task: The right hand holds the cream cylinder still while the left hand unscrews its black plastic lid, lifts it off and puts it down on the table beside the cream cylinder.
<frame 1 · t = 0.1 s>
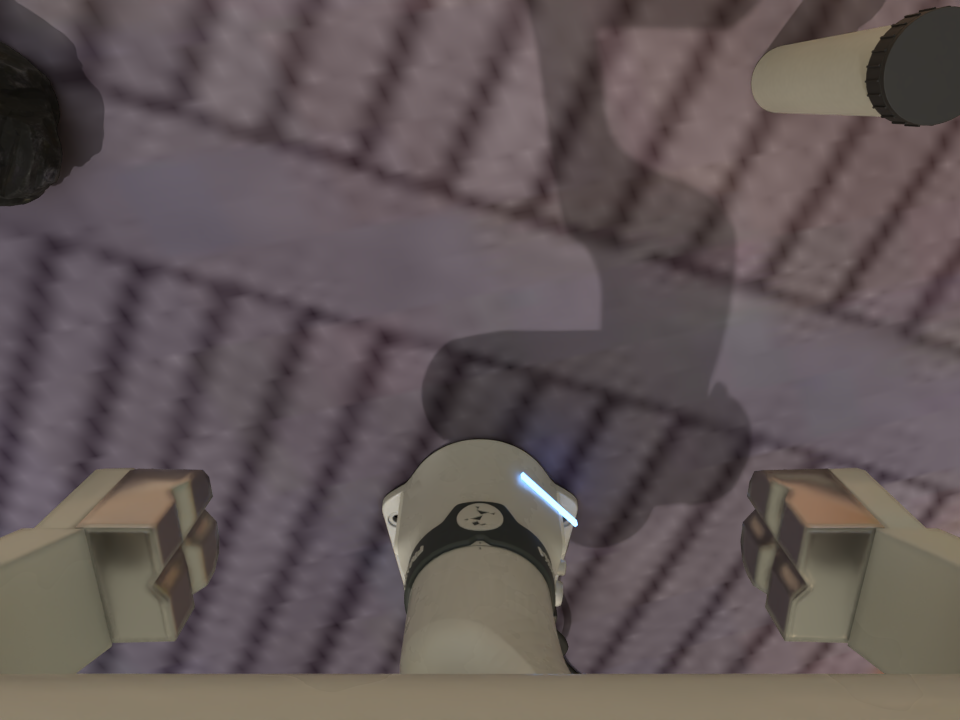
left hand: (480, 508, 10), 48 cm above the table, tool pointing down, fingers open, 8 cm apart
cream cylinder: (782, 79, 53), on the table
lid: (935, 67, 35), point 19 cm above the table, screwed on, not yet turned
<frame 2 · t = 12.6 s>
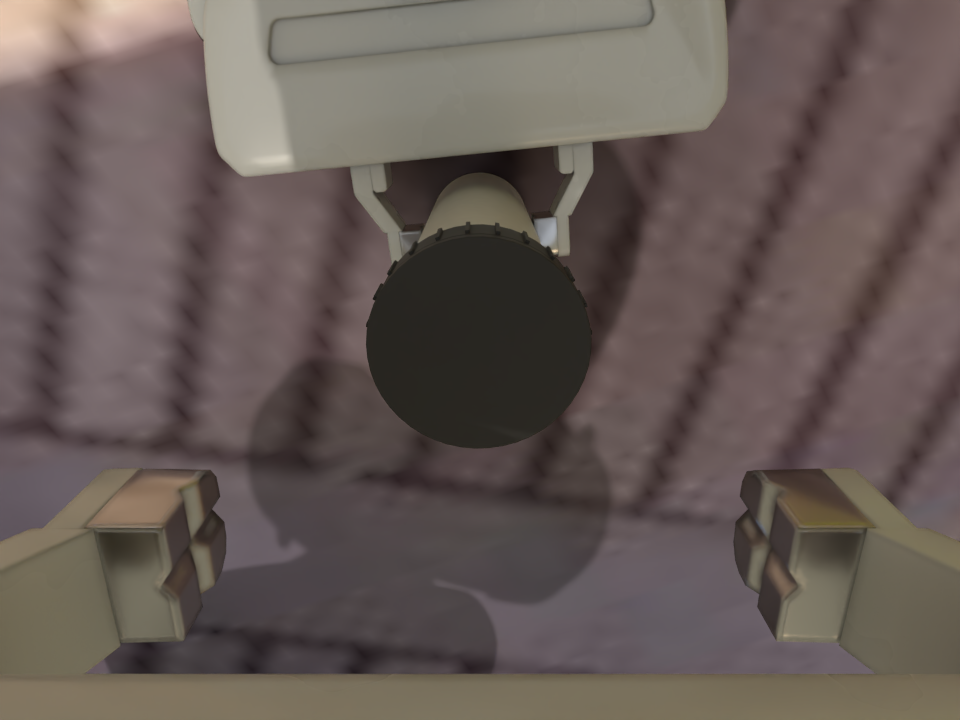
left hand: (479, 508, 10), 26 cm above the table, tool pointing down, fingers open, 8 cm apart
right hand: (482, 261, 30), fingers closed on cream cylinder, 5 cm apart
cream cylinder: (479, 221, 35), on the table, touching right hand
lid: (478, 344, 17), point 19 cm above the table, screwed on, not yet turned
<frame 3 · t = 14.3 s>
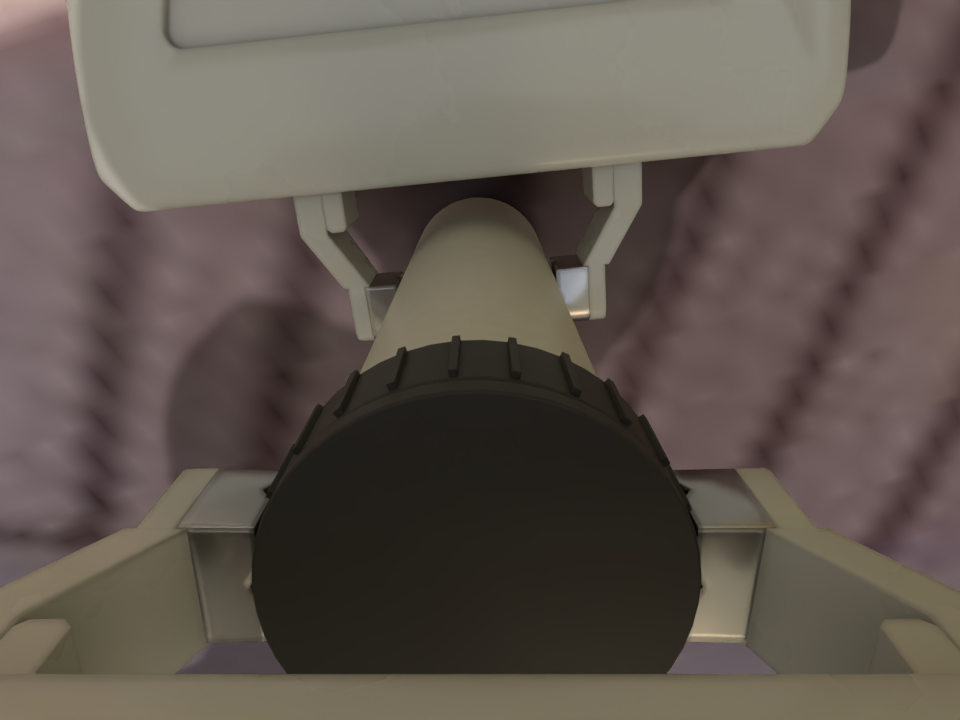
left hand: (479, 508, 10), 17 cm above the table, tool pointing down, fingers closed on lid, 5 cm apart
right hand: (482, 325, 22), fingers closed on cream cylinder, 5 cm apart
cream cylinder: (479, 260, 26), on the table, touching right hand
lid: (476, 578, 9), point 19 cm above the table, screwed on, not yet turned, touching left hand
when the left hand's fingers open (17 cm above the table, at t = 15.8 s): lid stays where it is, point 19 cm above the table.
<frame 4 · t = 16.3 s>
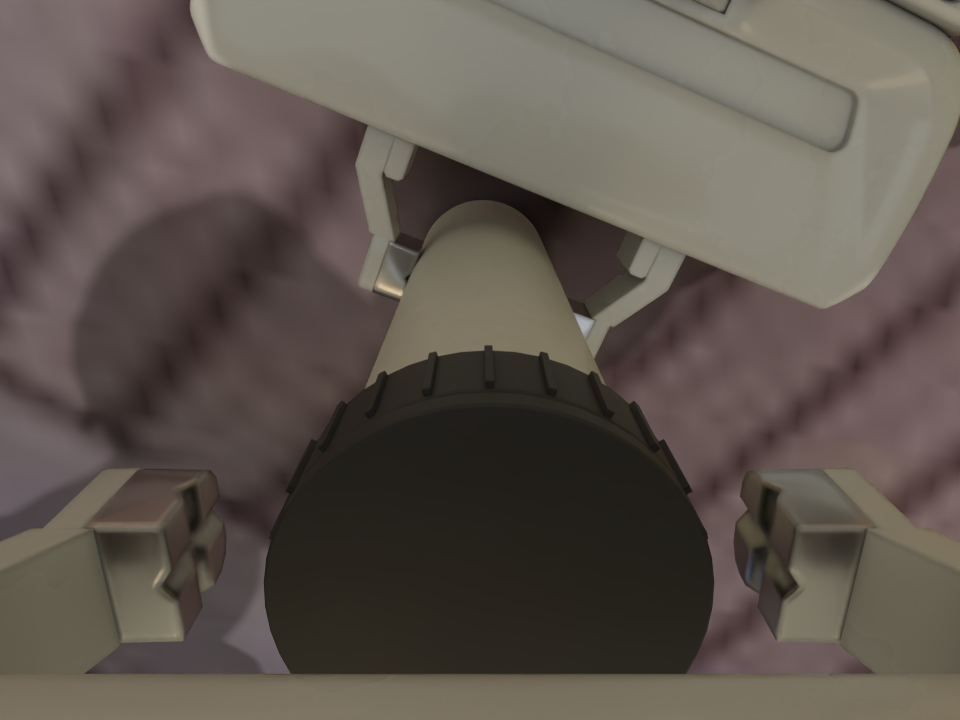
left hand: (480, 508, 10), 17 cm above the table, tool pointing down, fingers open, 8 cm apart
right hand: (474, 325, 22), fingers closed on cream cylinder, 5 cm apart
cream cylinder: (482, 262, 27), on the table, touching right hand
lid: (488, 589, 9), point 19 cm above the table, turned 67° so far, risen 0.2 cm, still on its thread
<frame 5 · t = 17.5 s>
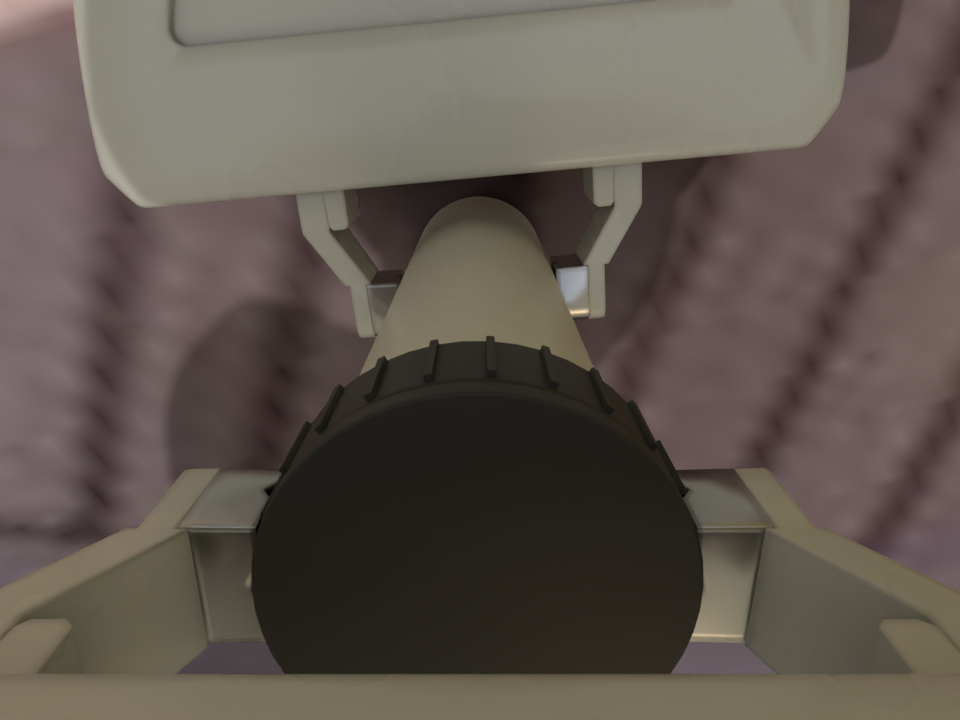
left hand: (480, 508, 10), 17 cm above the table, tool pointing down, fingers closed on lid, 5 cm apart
right hand: (482, 323, 22), fingers closed on cream cylinder, 5 cm apart
cream cylinder: (479, 259, 27), on the table, touching right hand
lid: (477, 581, 9), point 19 cm above the table, turned 67° so far, risen 0.2 cm, still on its thread, touching left hand
when the left hand's fingers open (2 cm above the table, at t = 24.5 s): lid drops 2 cm, point 1 cm above the table.
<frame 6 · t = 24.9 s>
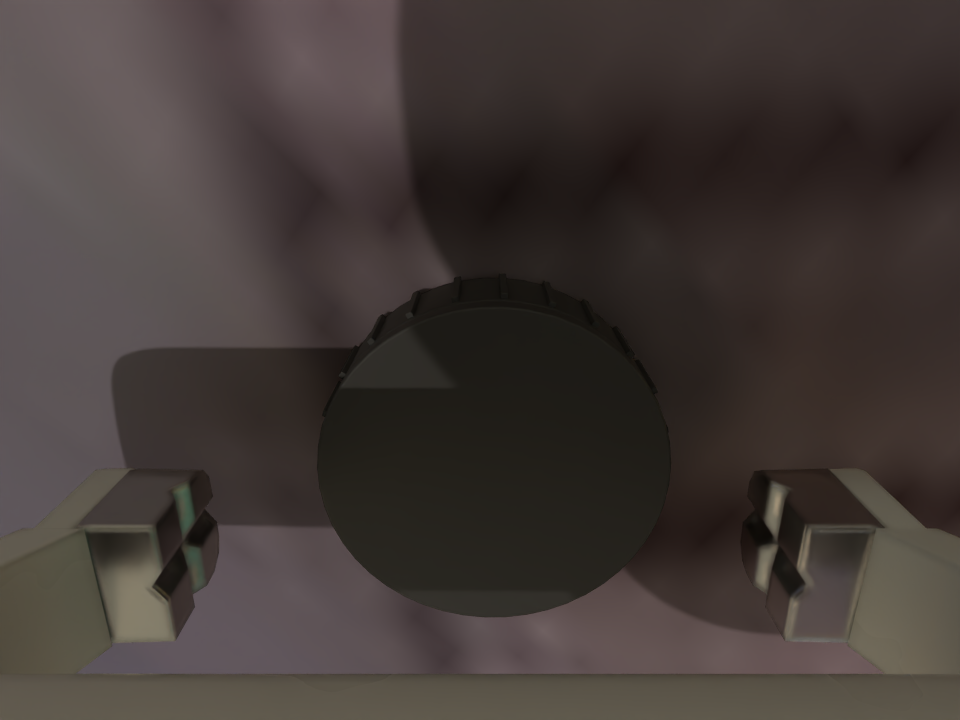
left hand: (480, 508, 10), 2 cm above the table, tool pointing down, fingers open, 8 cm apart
lid: (493, 465, 11), point 1 cm above the table, off its thread
when the right hand's fingers open (5 cm above the table, at t = 25.5 s): cream cylinder stays where it is, on the table.
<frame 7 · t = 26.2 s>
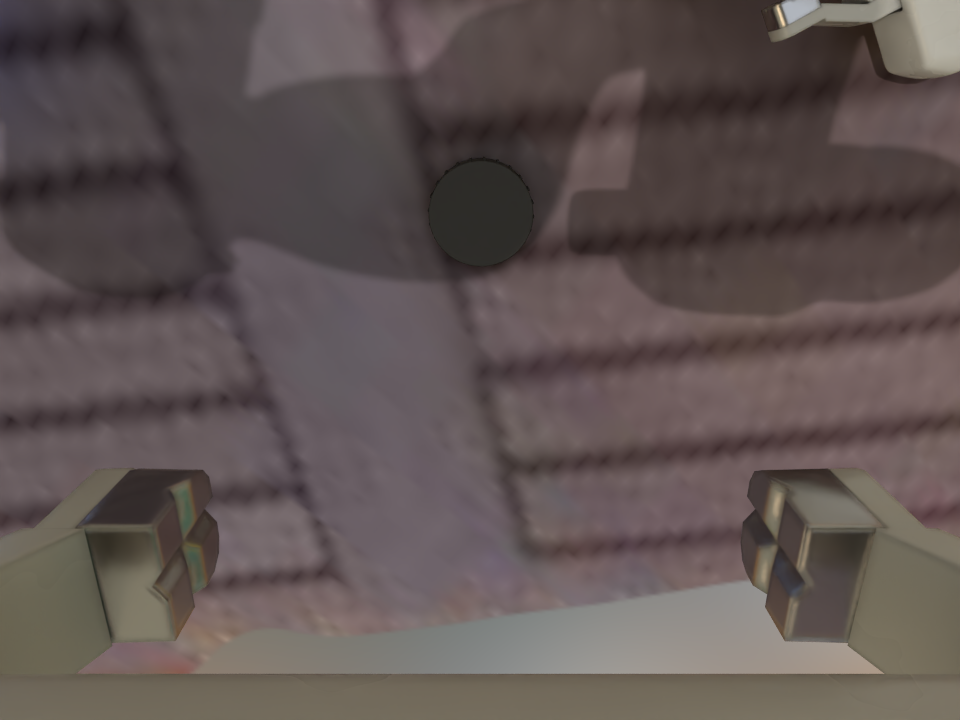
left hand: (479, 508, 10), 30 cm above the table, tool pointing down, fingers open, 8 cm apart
lid: (481, 214, 37), point 1 cm above the table, off its thread
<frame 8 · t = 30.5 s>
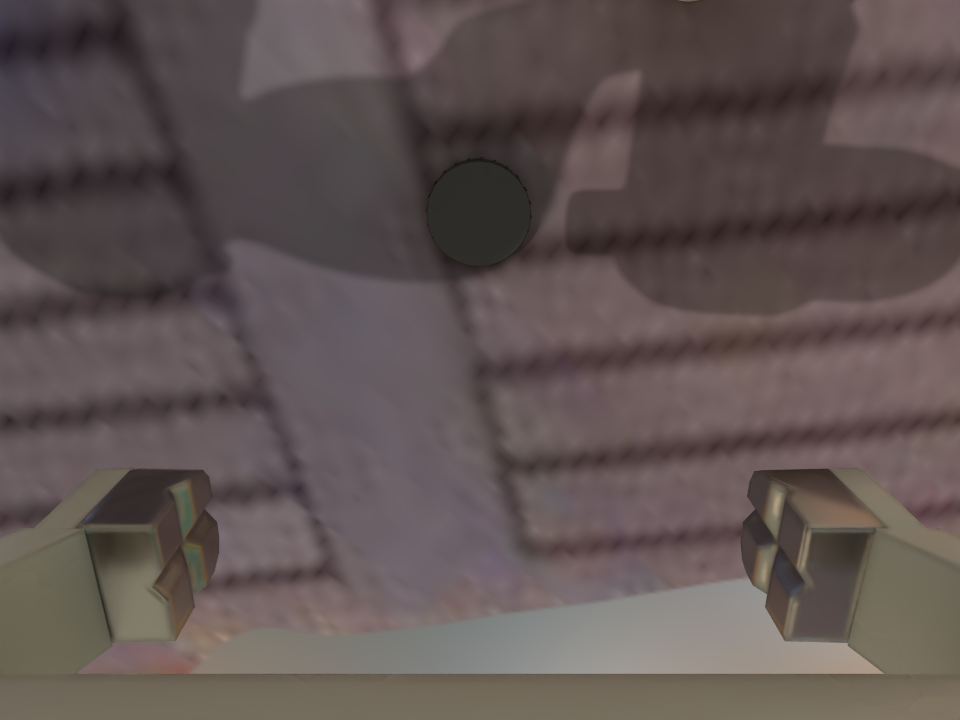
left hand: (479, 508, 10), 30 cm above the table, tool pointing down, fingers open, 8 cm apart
lid: (478, 214, 37), point 1 cm above the table, off its thread
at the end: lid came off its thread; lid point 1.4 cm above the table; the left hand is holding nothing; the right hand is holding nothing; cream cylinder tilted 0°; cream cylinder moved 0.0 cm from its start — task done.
